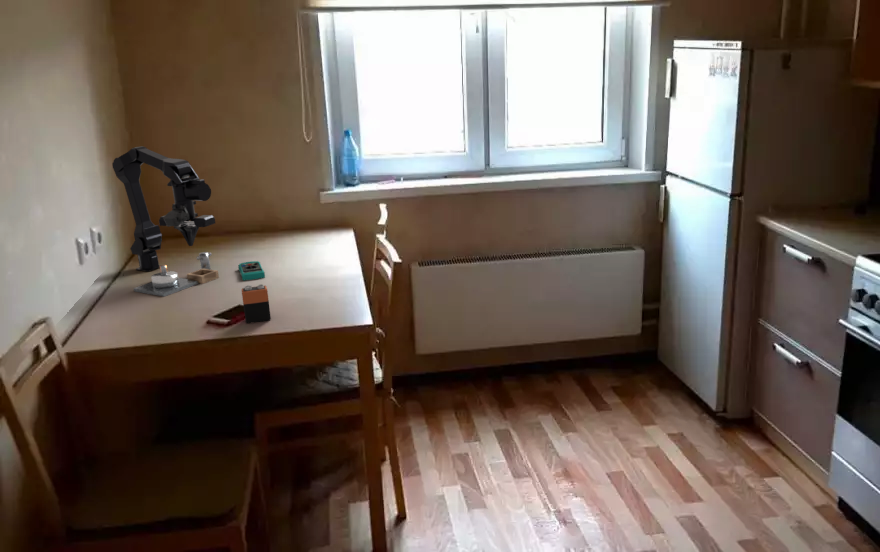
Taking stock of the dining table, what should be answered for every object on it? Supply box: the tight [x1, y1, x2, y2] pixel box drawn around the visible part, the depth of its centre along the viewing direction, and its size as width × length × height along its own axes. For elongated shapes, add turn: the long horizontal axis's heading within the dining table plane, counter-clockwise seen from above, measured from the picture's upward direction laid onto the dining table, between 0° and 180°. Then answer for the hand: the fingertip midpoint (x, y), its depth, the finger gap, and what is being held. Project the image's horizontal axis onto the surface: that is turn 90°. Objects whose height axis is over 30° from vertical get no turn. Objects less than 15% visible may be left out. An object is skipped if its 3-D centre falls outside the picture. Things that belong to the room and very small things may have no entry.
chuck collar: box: [151, 264, 179, 288], centre depth 252 cm, size 16×8×6 cm, turn 21°
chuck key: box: [196, 251, 212, 270], centre depth 263 cm, size 3×6×7 cm, turn 149°
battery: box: [241, 284, 272, 324], centre depth 215 cm, size 4×7×10 cm, turn 106°
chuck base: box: [133, 277, 199, 297], centre depth 250 cm, size 14×14×1 cm
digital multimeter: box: [237, 260, 266, 281], centre depth 260 cm, size 7×15×3 cm, turn 19°
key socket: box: [186, 268, 220, 285], centre depth 256 cm, size 7×7×2 cm
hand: (190, 245), depth 259 cm, fingers closed
